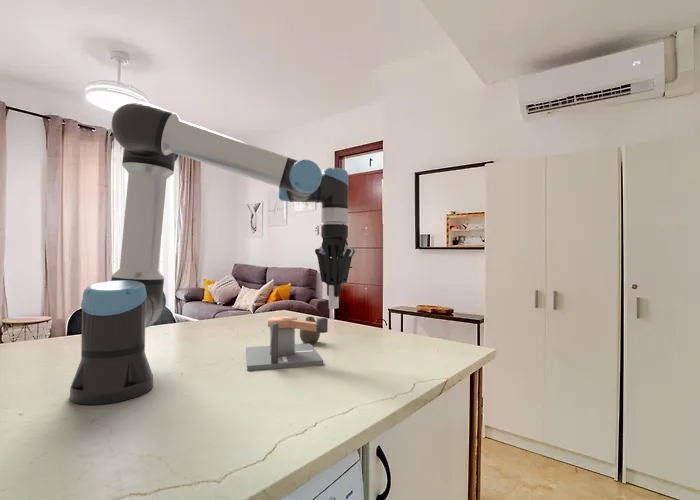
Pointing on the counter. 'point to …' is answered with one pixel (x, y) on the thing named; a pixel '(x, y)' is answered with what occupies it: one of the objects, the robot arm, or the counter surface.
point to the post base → (293, 361)
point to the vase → (309, 334)
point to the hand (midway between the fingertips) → (333, 308)
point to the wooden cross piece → (300, 323)
